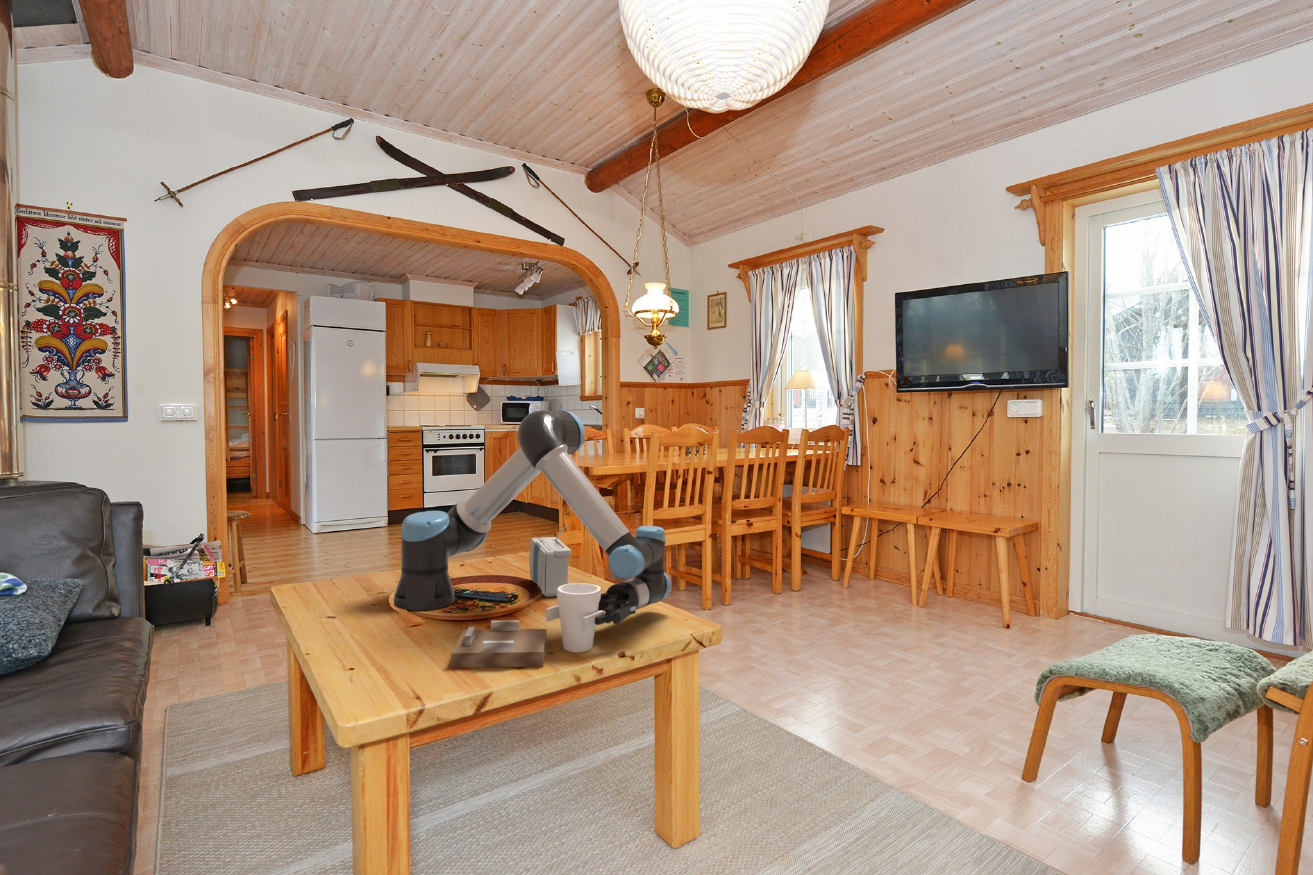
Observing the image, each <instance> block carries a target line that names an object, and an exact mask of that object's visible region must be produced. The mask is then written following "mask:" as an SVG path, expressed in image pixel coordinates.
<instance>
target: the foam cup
mask: <svg viewBox="0 0 1313 875" xmlns="http://www.w3.org/2000/svg"><path fill="white" fill-rule="evenodd" d="M601 591H602V588H601V587H600V586H599V585H597V584H593V583H586V582H572V583H568V584H565V585H562V586H559V587H558V588H557V596H556V600H557V605H559V614H560V618H559V622H560V630H561V639H562V648H563V650H565V651H567V652H571V653H584V652H588V651H591V650H592V649H593V645H594V639H595V638H594V637H595V631H596V627H593V628H591V629H588V630H586V631H583V630H582V617H585V616H588V615H590V614H593V613H596V612H598V607H599V601H600V599H601V594H602V592H601Z"/></svg>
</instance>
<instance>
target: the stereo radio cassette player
mask: <svg viewBox="0 0 1313 875" xmlns="http://www.w3.org/2000/svg"><path fill="white" fill-rule="evenodd" d="M566 527H568V524H565V525H564V527H563V528H562V530H560V532H559V533H558V535H557V536H551V537H550V536H549V537H547V536H543V537H533V538H531V539H530V541H529V542H530V544H529V576H530V578H531V580H532V581H533V582H534V581H535V583H536V584H537V585H538V586H540V588H541V590H542V592H541V594H542V595H544V597H546V598H549V597H557V588H558V587H559V586H562V585H565V584H569V557H571V556H572V549H570V548H569V547H568V546H567V545H566V544H565V543H564V542H563V541H562V540H560V537H561V535H562V534H563V532H564V530H565V529H566ZM535 583H534V584H535ZM536 584H535V585H536Z"/></svg>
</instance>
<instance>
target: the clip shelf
mask: <svg viewBox="0 0 1313 875" xmlns="http://www.w3.org/2000/svg"><path fill="white" fill-rule="evenodd" d="M546 645H547V628H523V629H522V628H520V620H519V619H517V620H516V619H514V620H510V619H509V620H507V619H506V620H505V619H504V620H491V621H490V629H476V628H475V626H469V627H468V629H463V630H462V632H461V634H460V636H459V638H458V640H457V642H456V644H455V646H454V649H453V650H452V652H451V669H468V668H469V669H476V668H477V669H479V668H480V669H482V668H483V669H484V668H489V669H490V668H536V667H537V668H538V667H539V668H540V667H544V664H545V663H544V662H545V655H546V653H545V652H546Z"/></svg>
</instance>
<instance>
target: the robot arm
mask: <svg viewBox="0 0 1313 875" xmlns="http://www.w3.org/2000/svg"><path fill="white" fill-rule="evenodd" d="M585 432H586V431H585V426H584V423H583V421H582V419H581V418H579V416H577V415H576V414H575V413H573V412H570V411H566V410H564V409H561V410H560V409H559V410H536V411H533V412H530V413H529V414H527V415H526V416H525V417H524V418H523V419H522V420H521V422H520V424H519V426H518V430H517V442H518V445H519V448H518V449H517V450H516V451H515V452H514V453H513V454H512V455H511V456H510V457H509V458H508V459H507V460H506V461H505V462H504V463H503V464H502V465H501V466H500V467H499V468H498V469H497V470H496V471H495V472H494V473H493V474H492V475H491V476H490V477H489V479H487V480H486V482H484V483H483V484H482V485H481V486H480V487H479V488H478V489H477V490H476V491H475V492H474V493H473V494H472V495H471V496H470V497H469V498H468V499H466V498H463V499H460V500H459V501H458V502H456V503H455V505H454V506H453V507H451V509H450V510H449V511H447V512H445V511H442V510H425V511H419V512H415V513H412V514H409V515H408V516H406V517H405V518H404V519H403V521H402V524H401V532H400V536H401V558H400V559H401V560H400V561H401V564H400V565H401V570H400V571H401V572H400V573H401V574H400V578H399V580H398V584H397V586H396V589H395V592H394V595H393V606H394V607H396V608H397V609H401V610H405V611H429V610H436V609H441V608H445V607H448V606H451V605H452V604H454V602H455V590H454V587H453V584H452V581H451V578H450V574H449V557H452V556H455V555H459V554H462V553H467V552H470V551H473V550H475V549H477V548H478V547H479V546H481V545H482V544H483V543H484V542H485V540H486V539H487V536H488V532H489V531H490V529H491V528H492V521H493V519H494V518H496V517H497V516H498V515H499V514H500V513H501V512H502V511H503V510H504V509H505V508H506V507H507V506H508V505H510V503H511V502H512V501H513V500H514V499H515V498H516V497H517V496H518V495H519V494H520V493H521V492H522V491H523V490H524V489H526V487H527V486H528V485H529V484H530V483H531V482H532V481H533V480H534V479H535V478H536V477H538V475H540V473H543V474H544V475H545V477H546V478H547V480H548V481H549V482H550V483H551V485H552V486H553V487H554V489H555V490H556V491H557V493H558V494H560V496H561V497H562V499H563V500H564V501H565V502H566V504H567V505H568V507H569V508H570V509H571V510H572V511H573V512H574V514H575V515H576V516H577V518H578V519H579V520H580V522H581V523H582V524H583V525H584V527H585V528H586V529H587V530H588V532H589V533H590V534H591V536H592V537H593V538H594V539H595V540H596V542H597V544H599V546H600V547H601V548H602V550H604V552H605V554H606V555H607V557H608V566H609V570H610V573H612V575H613V576H615V577H616V578H618V579H622V580H623V581H621V582H618V583H615V584H614V583H613V584H611V585H610V586H609V587H608V588H607V590H606V592H605V593H604V592H603V593H602V592H601V599H600V601H599V607H598V612H596V613H593V614H590V615H588V616H585V617H582V630H583V631H586V630H588V629H591V628H593V627H595V628H596V627H598V626H601V625H602V624H610V623H611V622H612V623H613V624H614V625H619V624H620V623H622V622H623V621H624V620H625V619H627V618H628V617H629V616H631V615H634V614H636V611H637V610H640V609H642V608H645V607H647V606H650V605H652V604H657V603H659V602H661V601H662V600H664V599H666V598H667V597H668V596H669V595H670V593H671V591H672V581H671V579H670V576H669V575H668V573H666V571H665V561H666V560H665V556H666V555H665V554H666V542H667V541H666V530H665V529H664V528H663V527H661V526H655V525H642V526H639V527H637V528H636V529H635V535H633V534H632V533H631V531H630V530H629V529H628V528H627V526H626V525H625V523H623V521H622V520H621V519H620V518H619V516H618V515H617V514H616V512H615V511H614V510H613V509H612V507H610V505H609V504H608V502H606V500H605V499H604V497H603V496H602V495H601V493H600V492H599V490H597V489H596V488H595V486H594V485H593V484H592V482H591V480H590V479H589V478H588V477H587V476H586V474H585V473H584V472H583V471H582V469H581V468H580V467H579V466H578V464H577V463H576V462H575V461H574V459H573V458H572V457H571V456H570V455H573V454H574V453H576V452H577V451H579V450H580V449H581V447H582V446H583V444H584V442H585V440H586V439H585V437H586V433H585ZM545 611H546V612H545V613H546V614H545V621H546V622H551V621H554V620H556V619H560V614H559V605H558V604H556V605H553V606H550V607H548V608H546V609H545Z"/></svg>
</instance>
